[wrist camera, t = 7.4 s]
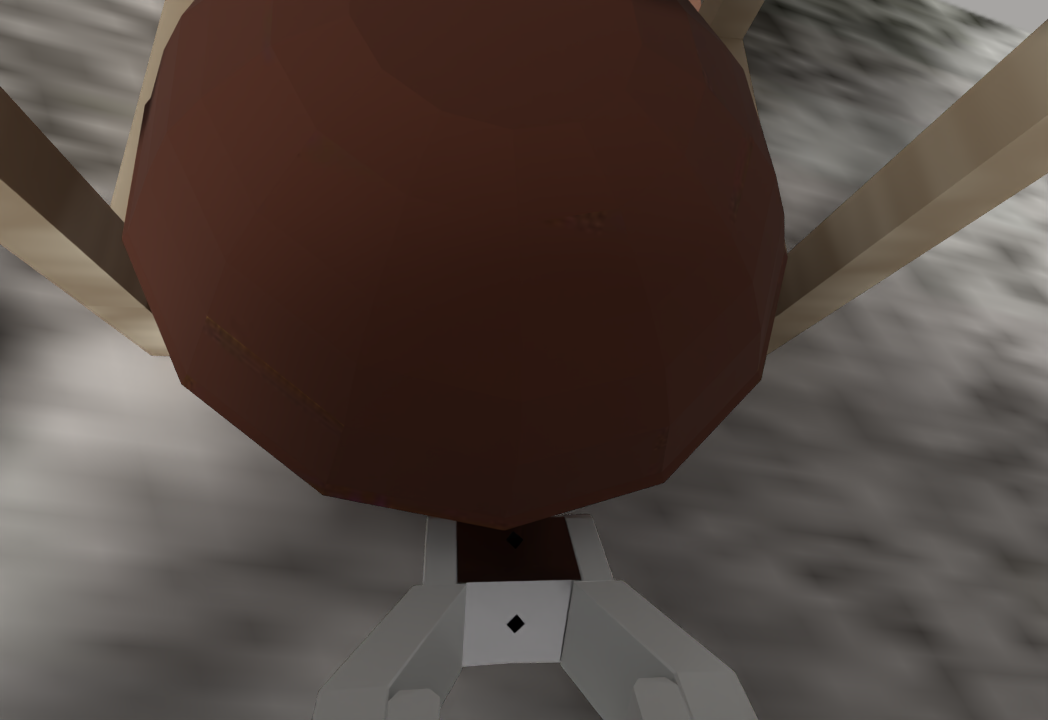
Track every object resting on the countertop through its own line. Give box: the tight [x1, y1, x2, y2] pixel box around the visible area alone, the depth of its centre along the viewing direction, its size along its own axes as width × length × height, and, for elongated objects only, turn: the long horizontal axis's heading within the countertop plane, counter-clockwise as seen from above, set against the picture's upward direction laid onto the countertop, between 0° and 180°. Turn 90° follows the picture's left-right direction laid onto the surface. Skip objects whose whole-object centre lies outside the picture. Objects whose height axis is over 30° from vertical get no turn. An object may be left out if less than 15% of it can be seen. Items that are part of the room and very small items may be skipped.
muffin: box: [122, 0, 788, 530], centre depth 11 cm, size 12×11×10 cm
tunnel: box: [0, 0, 1048, 356], centre depth 12 cm, size 16×11×13 cm
